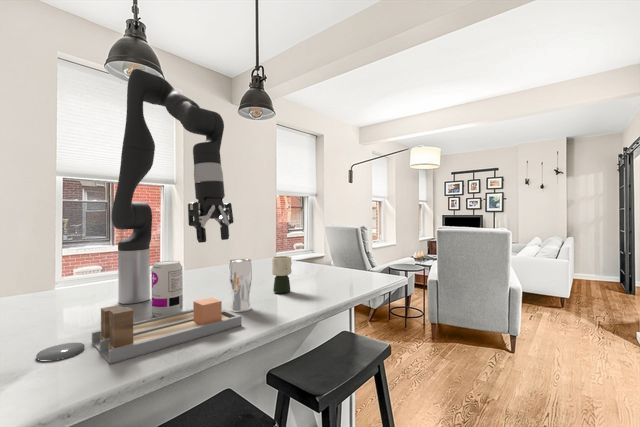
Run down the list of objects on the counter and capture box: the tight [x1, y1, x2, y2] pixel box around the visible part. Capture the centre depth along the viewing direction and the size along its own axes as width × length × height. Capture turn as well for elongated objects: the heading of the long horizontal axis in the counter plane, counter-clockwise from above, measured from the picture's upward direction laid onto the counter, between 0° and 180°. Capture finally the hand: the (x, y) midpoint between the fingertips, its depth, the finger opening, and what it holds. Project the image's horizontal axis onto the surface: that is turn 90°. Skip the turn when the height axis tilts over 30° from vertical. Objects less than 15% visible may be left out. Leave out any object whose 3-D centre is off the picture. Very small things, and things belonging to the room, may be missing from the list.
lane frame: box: [91, 308, 243, 365], centre depth 79 cm, size 15×30×2 cm, turn 136°
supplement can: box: [151, 260, 184, 318], centre depth 95 cm, size 8×8×15 cm
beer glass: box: [227, 258, 253, 313], centre depth 99 cm, size 7×7×15 cm
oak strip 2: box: [108, 306, 228, 350], centre depth 77 cm, size 6×26×9 cm, turn 136°
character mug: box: [271, 255, 293, 294], centre depth 120 cm, size 11×7×13 cm, turn 39°
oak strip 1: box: [100, 304, 194, 340], centre depth 81 cm, size 6×26×8 cm, turn 136°
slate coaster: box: [35, 342, 86, 361], centre depth 69 cm, size 8×8×1 cm
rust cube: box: [192, 297, 223, 325], centre depth 82 cm, size 5×5×5 cm
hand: (214, 241), depth 88 cm, fingers open, 8 cm apart
